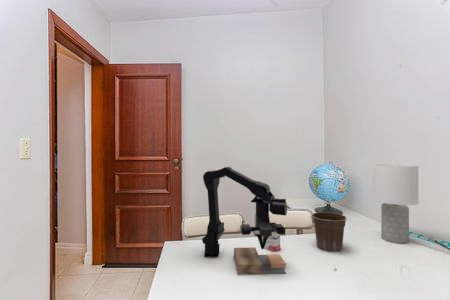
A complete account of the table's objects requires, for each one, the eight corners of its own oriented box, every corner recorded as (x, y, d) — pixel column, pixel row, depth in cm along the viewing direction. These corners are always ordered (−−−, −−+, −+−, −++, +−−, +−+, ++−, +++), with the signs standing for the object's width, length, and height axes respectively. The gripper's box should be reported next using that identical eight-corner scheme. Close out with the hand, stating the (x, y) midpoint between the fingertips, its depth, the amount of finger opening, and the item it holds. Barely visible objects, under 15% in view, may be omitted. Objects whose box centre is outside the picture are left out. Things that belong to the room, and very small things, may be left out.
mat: (262, 274, 96) (262, 273, 96) (255, 255, 113) (255, 254, 113) (286, 273, 97) (286, 272, 97) (275, 255, 114) (275, 254, 114)
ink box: (280, 249, 120) (280, 226, 121) (274, 252, 117) (274, 228, 117) (267, 244, 127) (267, 222, 127) (261, 247, 124) (261, 224, 124)
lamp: (368, 239, 135) (368, 165, 135) (379, 231, 149) (379, 163, 149) (414, 250, 120) (414, 166, 120) (421, 240, 134) (421, 165, 134)
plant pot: (325, 255, 114) (325, 221, 114) (305, 242, 130) (305, 212, 130) (354, 252, 118) (354, 219, 118) (332, 240, 133) (332, 211, 133)
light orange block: (285, 263, 101) (285, 267, 101) (279, 253, 110) (279, 258, 110) (271, 263, 100) (271, 268, 100) (266, 254, 109) (266, 258, 109)
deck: (237, 274, 96) (237, 264, 96) (233, 256, 113) (233, 247, 113) (262, 274, 96) (262, 264, 96) (255, 255, 113) (255, 247, 113)
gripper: (243, 218, 96) (243, 257, 96) (289, 217, 97) (289, 256, 97) (240, 211, 108) (240, 246, 107) (281, 211, 108) (281, 245, 108)
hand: (262, 248), depth 105 cm, fingers closed
